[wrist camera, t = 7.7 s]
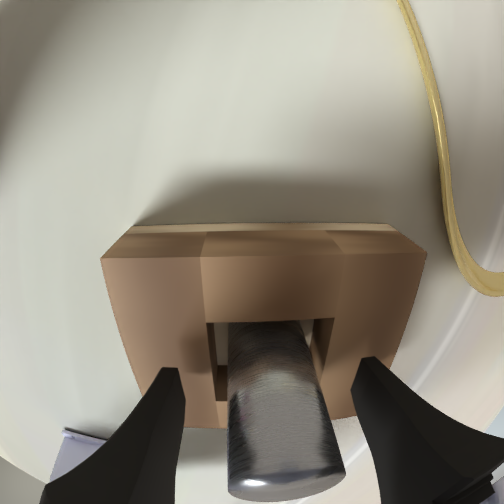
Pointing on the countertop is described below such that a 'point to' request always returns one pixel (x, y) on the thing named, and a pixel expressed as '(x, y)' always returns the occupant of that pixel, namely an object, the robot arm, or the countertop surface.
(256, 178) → the countertop surface
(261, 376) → the pin
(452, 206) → the yellow rubber band
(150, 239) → the socket block
